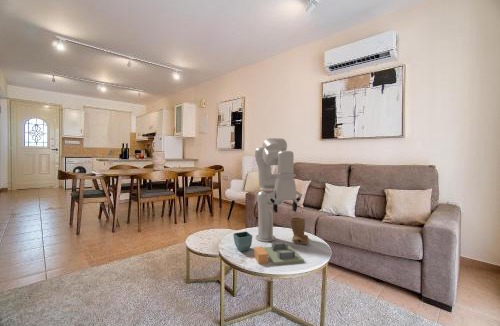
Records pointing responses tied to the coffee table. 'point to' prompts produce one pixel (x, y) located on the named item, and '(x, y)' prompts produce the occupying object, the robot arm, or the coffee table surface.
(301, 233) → the brown boot
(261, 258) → the tall tan rectangular prism
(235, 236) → the flower pot
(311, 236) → the coffee table surface
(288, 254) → the green bracket base plate
